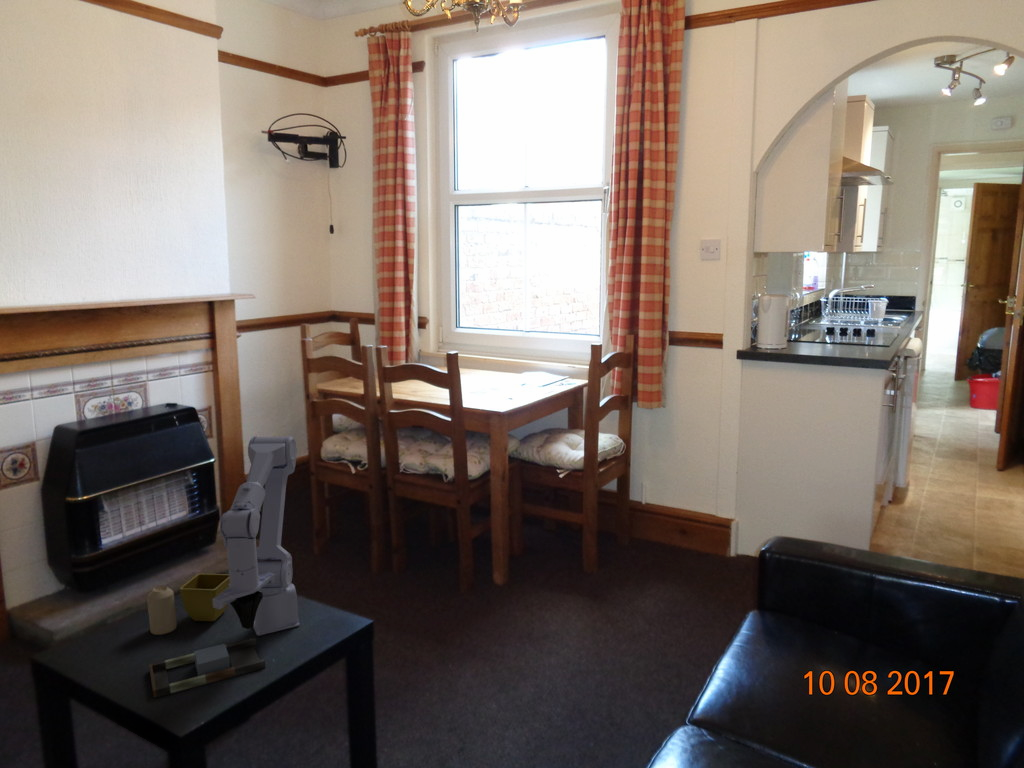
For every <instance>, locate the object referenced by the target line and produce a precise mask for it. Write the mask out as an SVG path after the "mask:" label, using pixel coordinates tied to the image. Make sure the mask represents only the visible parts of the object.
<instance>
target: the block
mask: <svg viewBox="0 0 1024 768" xmlns="http://www.w3.org/2000/svg"><path fill="white" fill-rule="evenodd" d="M225 645H226V644H225V643H221V644H217V645H214V646H209V647H205V648H201V649H198V650H194V651H193V653H194V654H195V662H194V663H195V668H196V672H197V676H201V675H205V674H209V673H212V672H216V671H220V670H224V669H227V668H231V663H230V660H229V655H228V652H227V649H226V646H225Z"/></svg>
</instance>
